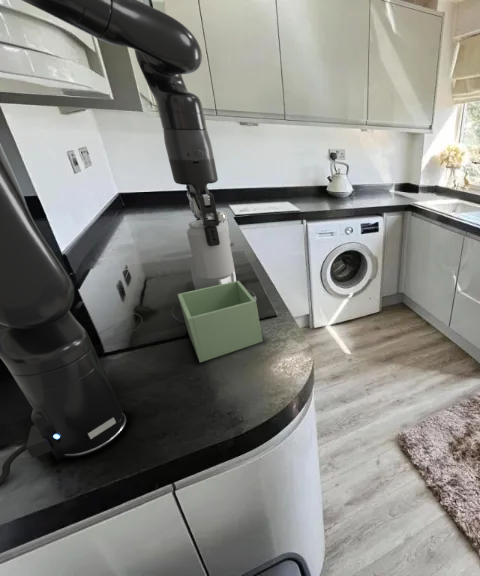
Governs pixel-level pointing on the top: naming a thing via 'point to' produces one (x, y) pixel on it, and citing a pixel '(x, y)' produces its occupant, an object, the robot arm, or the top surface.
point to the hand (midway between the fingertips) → (209, 239)
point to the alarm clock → (201, 283)
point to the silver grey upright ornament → (223, 220)
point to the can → (210, 252)
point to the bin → (220, 319)
